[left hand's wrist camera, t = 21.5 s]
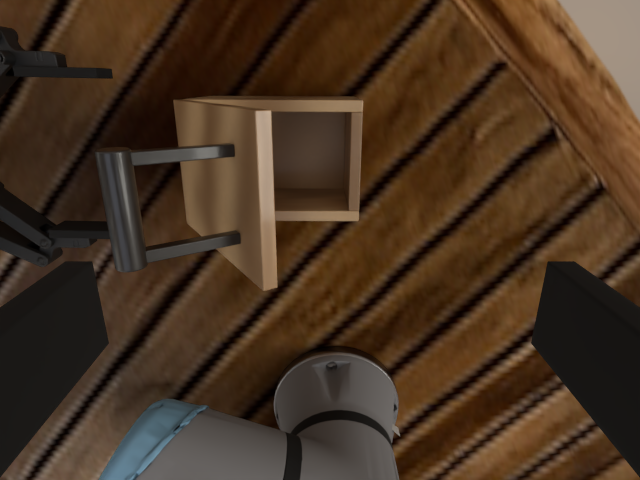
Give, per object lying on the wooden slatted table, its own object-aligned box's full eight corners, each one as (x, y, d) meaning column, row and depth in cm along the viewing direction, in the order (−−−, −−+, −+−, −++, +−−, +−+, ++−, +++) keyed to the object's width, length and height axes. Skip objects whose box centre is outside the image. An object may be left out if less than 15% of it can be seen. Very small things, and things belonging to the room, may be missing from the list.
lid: (271, 109, 21) (95, 115, 17) (277, 287, 24) (132, 327, 20) (185, 99, 32) (68, 101, 28) (197, 221, 36) (94, 238, 32)
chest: (354, 96, 41) (363, 100, 33) (351, 194, 44) (358, 221, 36) (209, 95, 41) (181, 99, 33) (217, 194, 44) (194, 220, 36)
